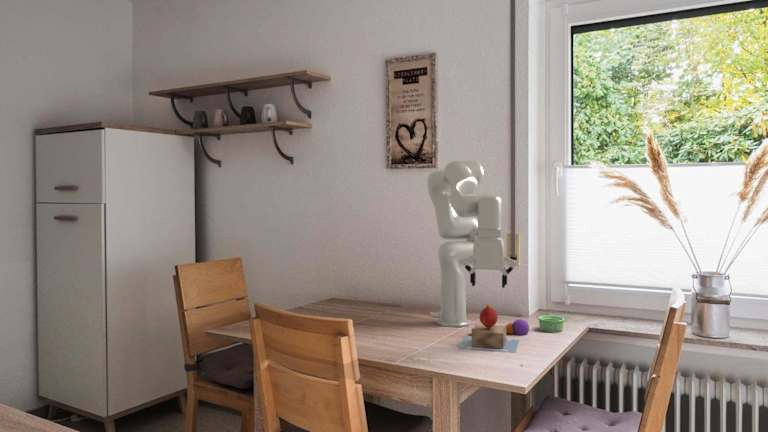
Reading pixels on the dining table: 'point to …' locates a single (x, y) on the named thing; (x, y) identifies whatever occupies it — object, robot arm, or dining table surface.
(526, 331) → the maraca
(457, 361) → the dining table surface
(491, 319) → the onion
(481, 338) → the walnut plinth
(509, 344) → the blueprint mat
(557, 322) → the ramekin
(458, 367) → the dining table surface
